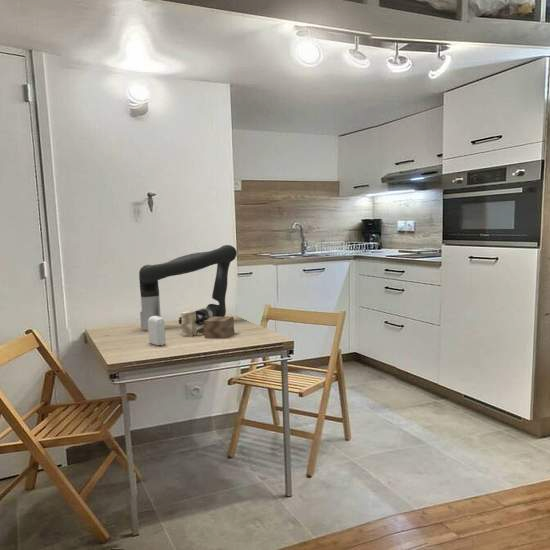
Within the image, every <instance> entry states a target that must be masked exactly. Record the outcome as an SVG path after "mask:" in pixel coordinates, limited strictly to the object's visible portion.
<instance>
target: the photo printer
mask: <svg viewBox="0 0 550 550" xmlns="http://www.w3.org/2000/svg"><path fill="white" fill-rule="evenodd" d="M148 342H149V344H152V345H155V346H159V345H161V346H165V345H166V344H167V343H166V342H167V340H166V327H165V321H164V319H163V318H162V316H161V317H159V316H152V317H150V318H149V319H148ZM164 344H165V345H164Z"/></svg>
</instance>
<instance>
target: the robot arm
mask: <svg viewBox="0 0 550 550" xmlns="http://www.w3.org/2000/svg"><path fill="white" fill-rule="evenodd" d="M236 249H237V248H235V247H234V246H232V245H229V244H226V245H222V246H220V247H219V248H216V249H213V250H207V251H201V252H194V253H190V254H185V255H183V256H179V257H176V258H174V259H171V260H168V261H167V262H162V263H156V264H145V265H143V266H142V267H140V269H139V273H138V276H139V277H138V278H139V280H138V281H139V292H140V305H141V310H140V312H139V313H140V314H139V315H140V330H141V331H148V319H149V318H150V317H152V316H159V317H161V318H162V316H161V314H162V313H161V302H160V301H161V300H160V298H161V297H160V288H159V281H160V280H163V279H165V278H168V277H174V276H180V275H184V274H190V273H193V272H196V271H199V270H203V269H206V268H207V267H210V266H213V265H216V272H215V273H216V274H215V278H214V279H215V281H214V283H213V284H214V285H213V290H212V294H211V298H212V299H213V300H214V301H217V302H218V304H216V303H209V304H207V306H206V307H203V308H202V307H201V309H196V310H195V311H196V320H195V322H196V326H197V325H198V326H202V325H204V321H205V320H207V319H210V318H212V317H226V313H227V307H226V295H227V290H228V277H229V276H228V274H229V268H230V265H231V262H233V261H234V260H235V259H236V257H237V254H238V252H237V250H236ZM178 324H179V325H182V320H181V316H180V317H178Z"/></svg>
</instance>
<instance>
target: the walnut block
mask: <svg viewBox="0 0 550 550" xmlns="http://www.w3.org/2000/svg"><path fill="white" fill-rule="evenodd" d="M234 320H235V319H234V316H224V317H212V318H210V319H207V320H205V321H204V324H203V329H204V339H226V337H227V338H228V337H230V336H232V335H233V334H235V322H234ZM232 333H233V334H232ZM231 334H232V335H231ZM229 335H230V336H229Z"/></svg>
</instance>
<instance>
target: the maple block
mask: <svg viewBox="0 0 550 550" xmlns="http://www.w3.org/2000/svg"><path fill="white" fill-rule="evenodd" d="M196 311H197V310H194V311H189V310H188V311H183V312H180V317H181V320H182V324H181V334H182V337H194V336H196V335H198V334H197V333H198V332H197V324H196V322H195V320H196ZM195 334H196V335H195ZM193 335H194V336H193Z"/></svg>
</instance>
